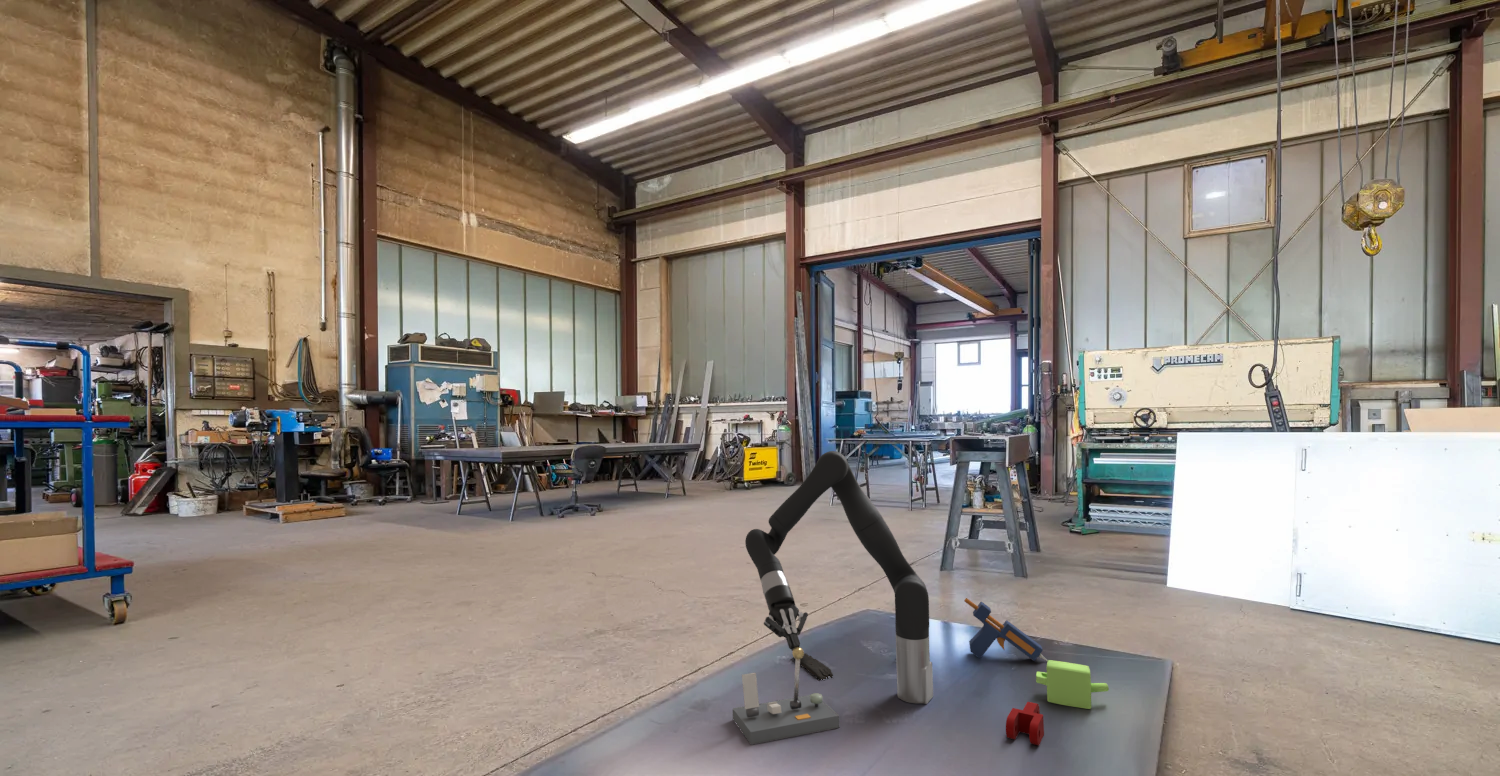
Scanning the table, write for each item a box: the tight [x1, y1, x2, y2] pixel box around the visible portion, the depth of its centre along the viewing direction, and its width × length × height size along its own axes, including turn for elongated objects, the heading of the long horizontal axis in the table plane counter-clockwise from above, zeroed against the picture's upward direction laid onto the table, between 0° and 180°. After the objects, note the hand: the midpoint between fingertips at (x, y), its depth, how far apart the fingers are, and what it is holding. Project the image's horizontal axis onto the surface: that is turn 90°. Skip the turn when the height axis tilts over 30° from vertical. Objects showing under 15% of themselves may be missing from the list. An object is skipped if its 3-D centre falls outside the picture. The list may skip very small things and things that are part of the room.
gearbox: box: [1035, 659, 1110, 710], centre depth 177 cm, size 18×10×10 cm, turn 64°
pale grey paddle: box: [741, 672, 760, 717], centre depth 163 cm, size 2×4×10 cm, turn 110°
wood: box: [800, 652, 834, 681], centre depth 204 cm, size 22×7×3 cm, turn 22°
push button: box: [809, 692, 823, 707], centre depth 168 cm, size 3×3×3 cm
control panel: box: [732, 694, 840, 745], centre depth 165 cm, size 14×24×3 cm, turn 110°
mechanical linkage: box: [1005, 701, 1045, 746], centre depth 160 cm, size 16×7×5 cm, turn 145°
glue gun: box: [964, 597, 1049, 662], centre depth 210 cm, size 6×31×15 cm
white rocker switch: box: [767, 701, 781, 714], centre depth 164 cm, size 4×2×2 cm, turn 20°
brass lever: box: [790, 646, 805, 709], centre depth 166 cm, size 3×3×16 cm
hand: (795, 649), depth 166 cm, fingers closed
